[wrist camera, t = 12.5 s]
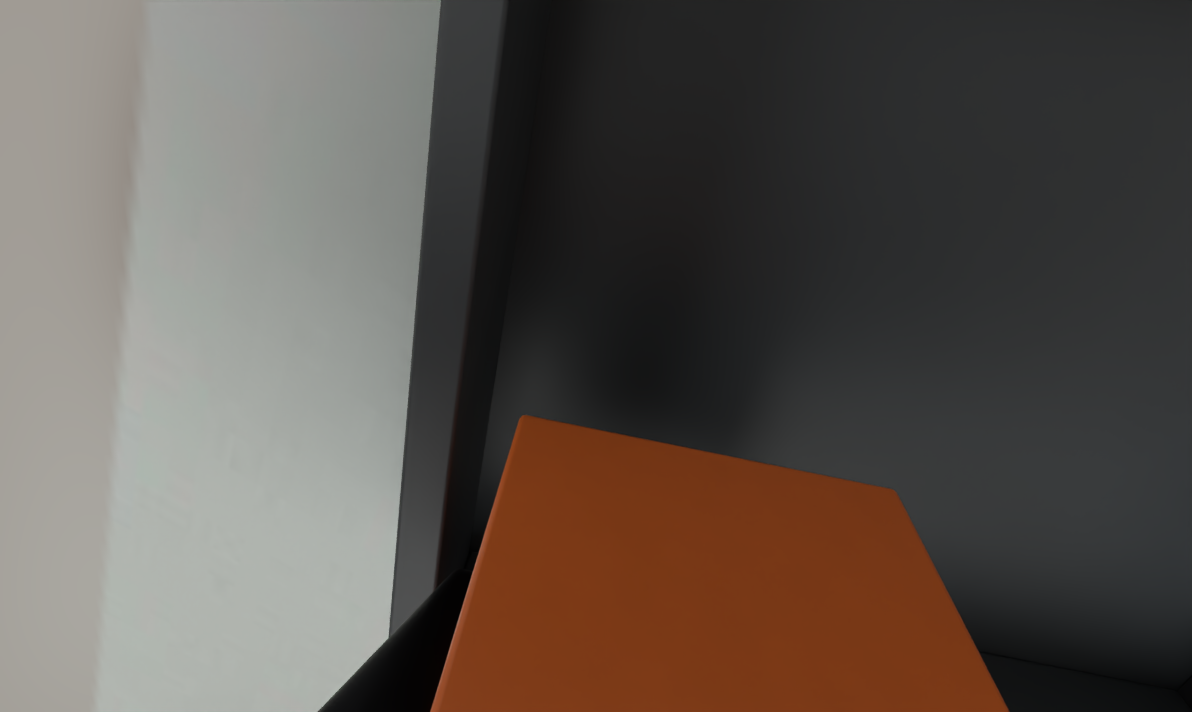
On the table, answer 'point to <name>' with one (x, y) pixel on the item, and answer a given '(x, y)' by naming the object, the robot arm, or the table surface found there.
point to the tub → (837, 288)
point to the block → (700, 590)
